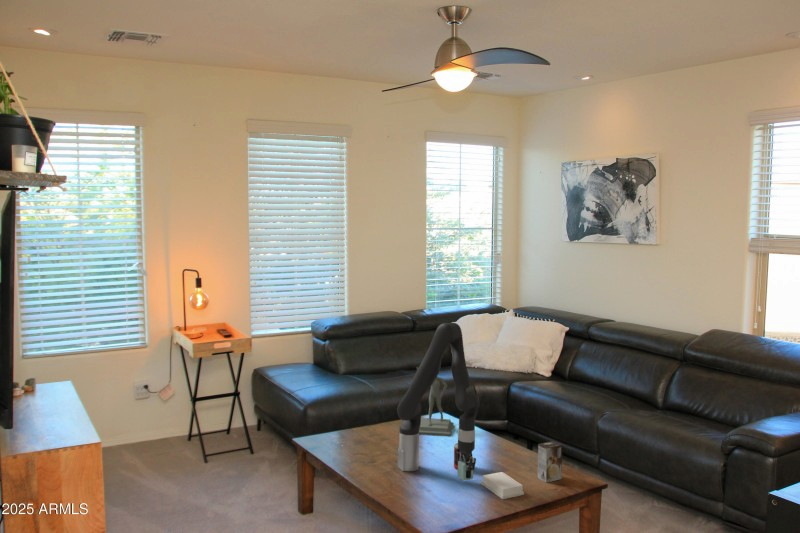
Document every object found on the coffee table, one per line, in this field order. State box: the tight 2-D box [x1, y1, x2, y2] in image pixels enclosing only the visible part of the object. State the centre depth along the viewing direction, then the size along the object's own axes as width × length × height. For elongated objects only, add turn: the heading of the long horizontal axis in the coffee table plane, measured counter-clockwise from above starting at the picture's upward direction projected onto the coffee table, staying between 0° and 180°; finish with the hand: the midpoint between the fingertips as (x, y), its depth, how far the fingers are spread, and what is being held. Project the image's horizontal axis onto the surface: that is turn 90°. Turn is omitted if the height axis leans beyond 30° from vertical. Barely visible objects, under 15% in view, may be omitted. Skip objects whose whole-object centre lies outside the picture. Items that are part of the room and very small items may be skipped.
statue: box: [415, 366, 455, 437], centre depth 365 cm, size 20×19×36 cm
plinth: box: [480, 471, 525, 500], centre depth 288 cm, size 11×17×4 cm, turn 24°
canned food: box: [453, 442, 458, 471], centre depth 312 cm, size 8×8×11 cm
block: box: [457, 461, 474, 482], centre depth 294 cm, size 5×5×7 cm
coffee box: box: [537, 440, 563, 483], centre depth 299 cm, size 9×6×16 cm
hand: (465, 475), depth 294 cm, fingers closed on block, 5 cm apart
